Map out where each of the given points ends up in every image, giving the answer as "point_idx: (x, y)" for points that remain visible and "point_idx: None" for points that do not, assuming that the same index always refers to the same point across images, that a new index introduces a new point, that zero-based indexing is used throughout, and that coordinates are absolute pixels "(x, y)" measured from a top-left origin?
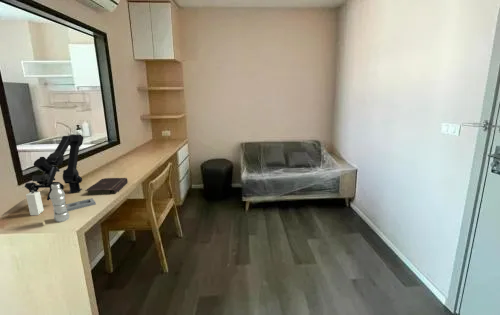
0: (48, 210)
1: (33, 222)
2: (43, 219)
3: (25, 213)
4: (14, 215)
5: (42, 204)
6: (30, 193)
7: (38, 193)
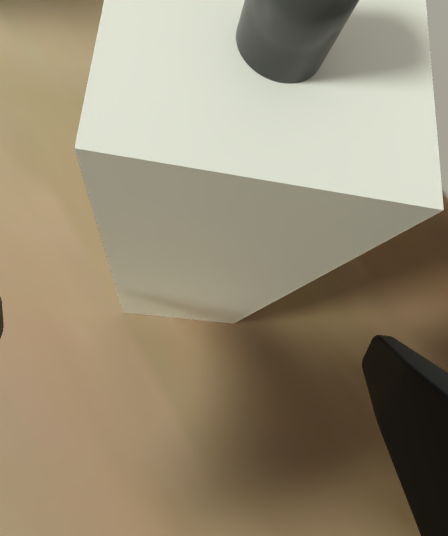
0: (88, 362)
1: (85, 38)
2: (5, 82)
3: (340, 305)
4: (421, 269)
5: (115, 287)
6: (349, 37)
7: (97, 95)
